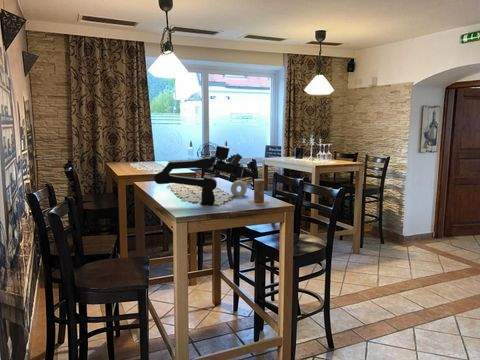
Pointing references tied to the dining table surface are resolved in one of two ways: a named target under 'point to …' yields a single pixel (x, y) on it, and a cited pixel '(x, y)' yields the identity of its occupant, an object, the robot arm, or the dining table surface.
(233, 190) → the donut
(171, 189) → the dining table surface
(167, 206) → the dining table surface
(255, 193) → the walnut block
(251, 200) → the coaster
